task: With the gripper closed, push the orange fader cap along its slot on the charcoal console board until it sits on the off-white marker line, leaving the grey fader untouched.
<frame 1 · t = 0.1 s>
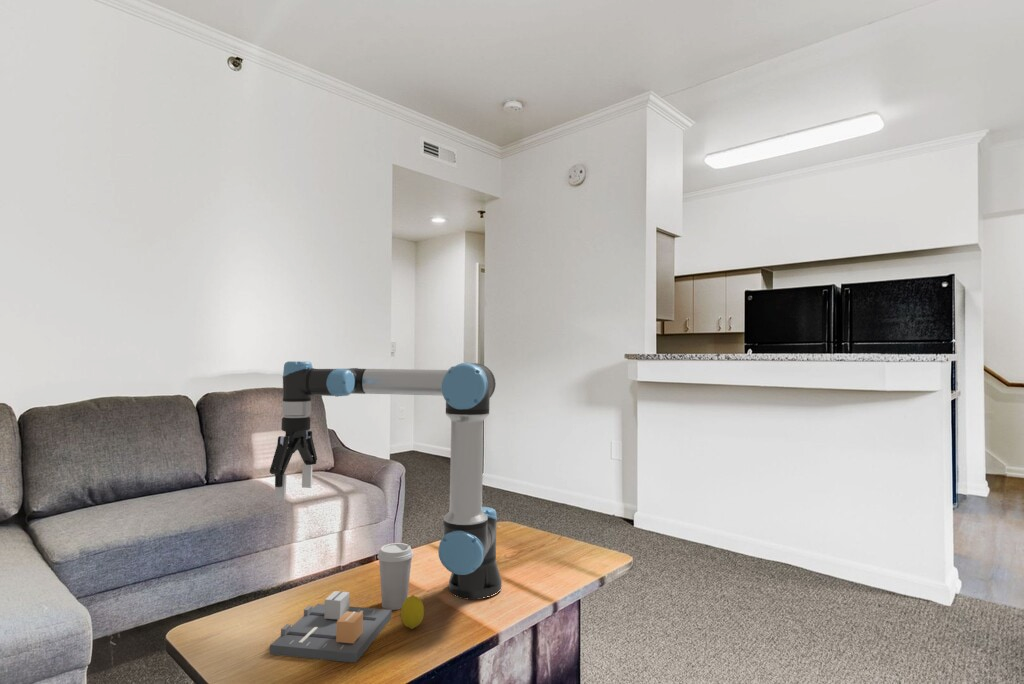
hand: (294, 492, 152), 28 cm above the table, fingers open, 13 cm apart
coffee cup: (394, 605, 146), on the table
lemon: (412, 629, 133), on the table
console: (334, 634, 129), on the table
fader grey: (337, 604, 135), point 5 cm above the table, slide at 0.0 cm
fader orange: (349, 626, 124), point 5 cm above the table, slide at 0.0 cm
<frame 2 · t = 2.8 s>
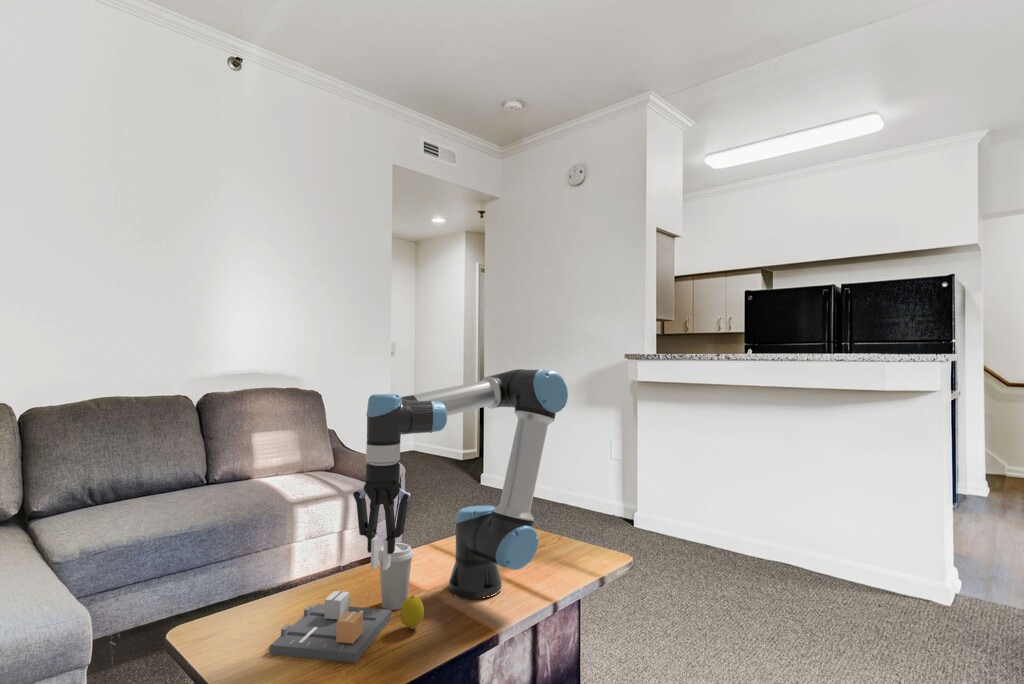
hand: (380, 567, 123), 18 cm above the table, fingers open, 2 cm apart
nothing on the table moved.
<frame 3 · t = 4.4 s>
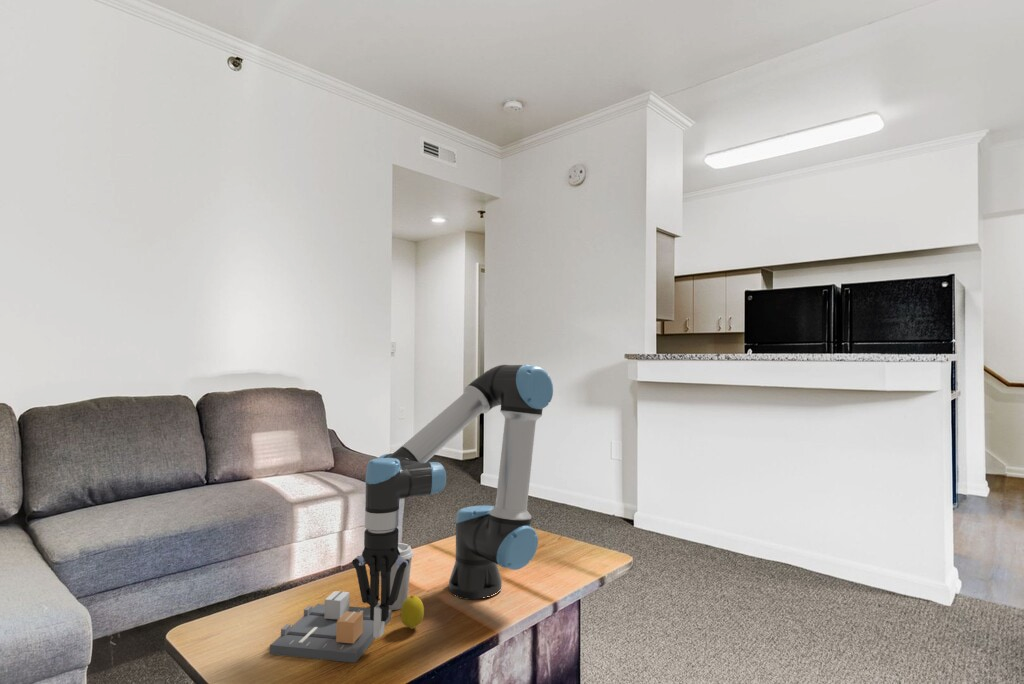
hand: (378, 634, 123), 4 cm above the table, fingers closed
nothing on the table moved.
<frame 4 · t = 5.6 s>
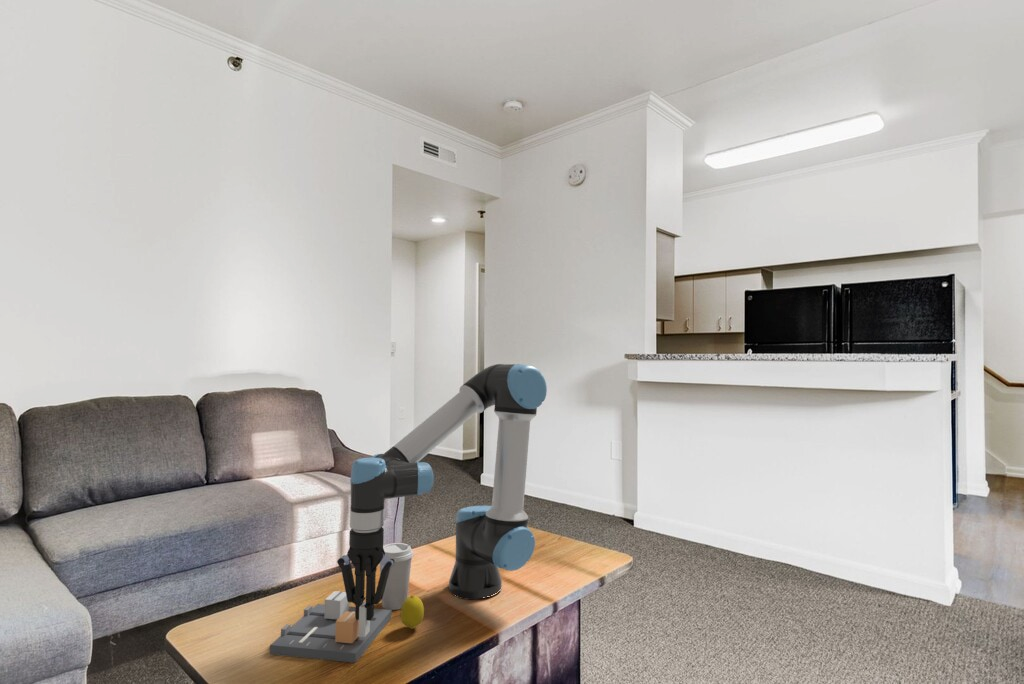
hand: (364, 633, 123), 3 cm above the table, fingers closed
fader orange: (348, 626, 124), point 5 cm above the table, slide at 0.2 cm, touching gripper
everything else where it was.
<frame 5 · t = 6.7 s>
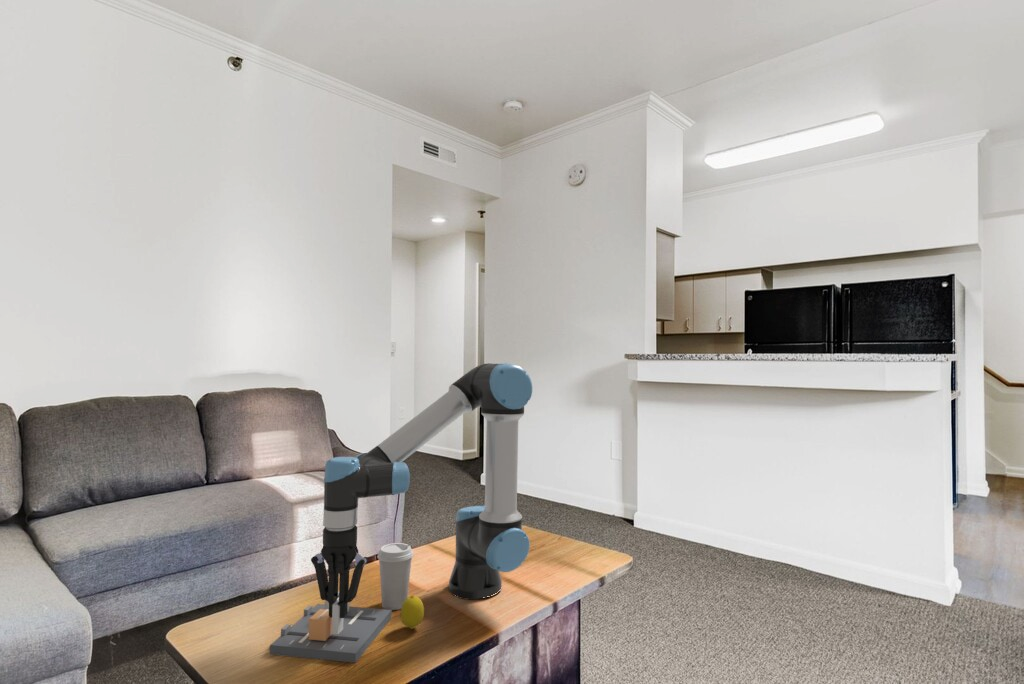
hand: (337, 631, 124), 4 cm above the table, fingers closed
fader orange: (322, 624, 125), point 5 cm above the table, slide at 6.6 cm, touching gripper
everything else where it was.
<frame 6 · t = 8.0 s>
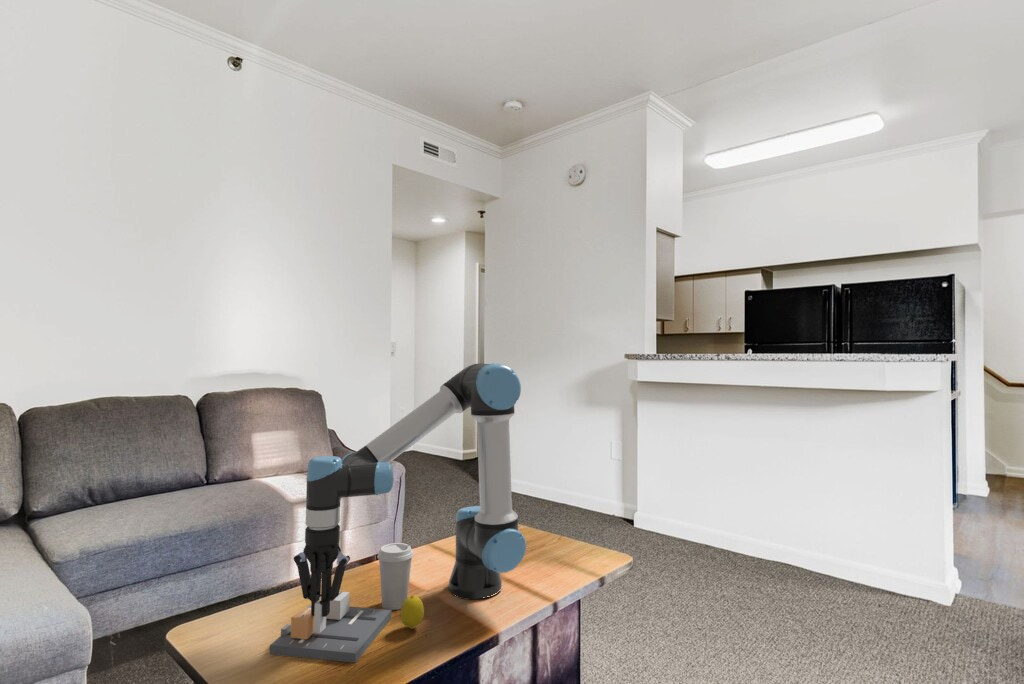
hand: (319, 629, 125), 3 cm above the table, fingers closed
fader orange: (305, 622, 125), point 5 cm above the table, slide at 10.9 cm, touching gripper
everything else where it was.
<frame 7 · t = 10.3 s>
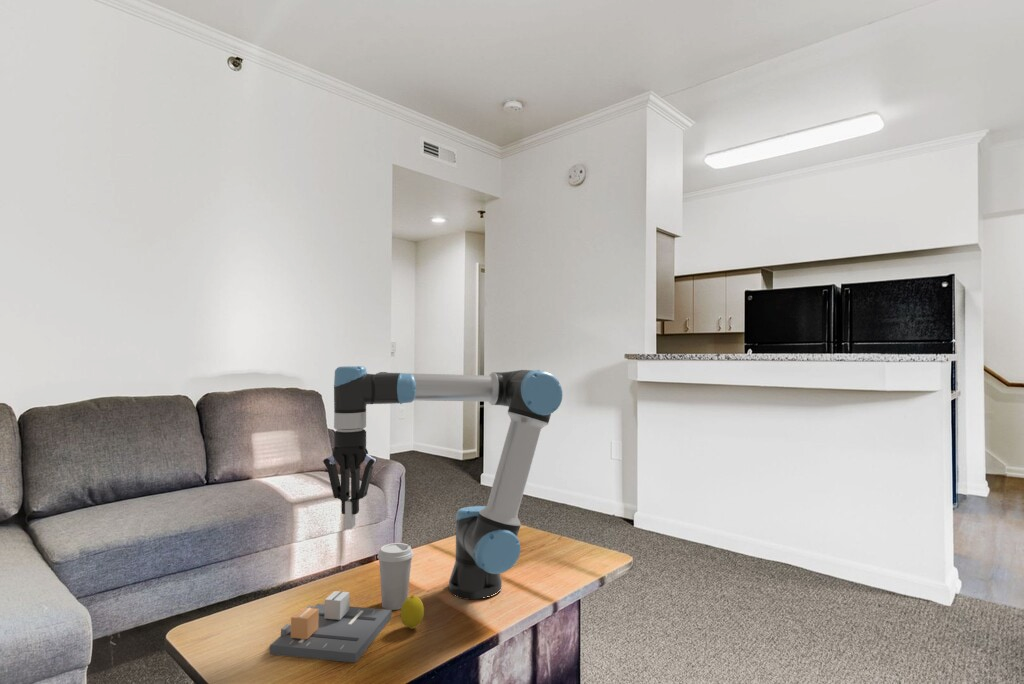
hand: (350, 527, 132), 25 cm above the table, fingers closed
fader orange: (304, 622, 125), point 5 cm above the table, slide at 10.9 cm
everything else where it was.
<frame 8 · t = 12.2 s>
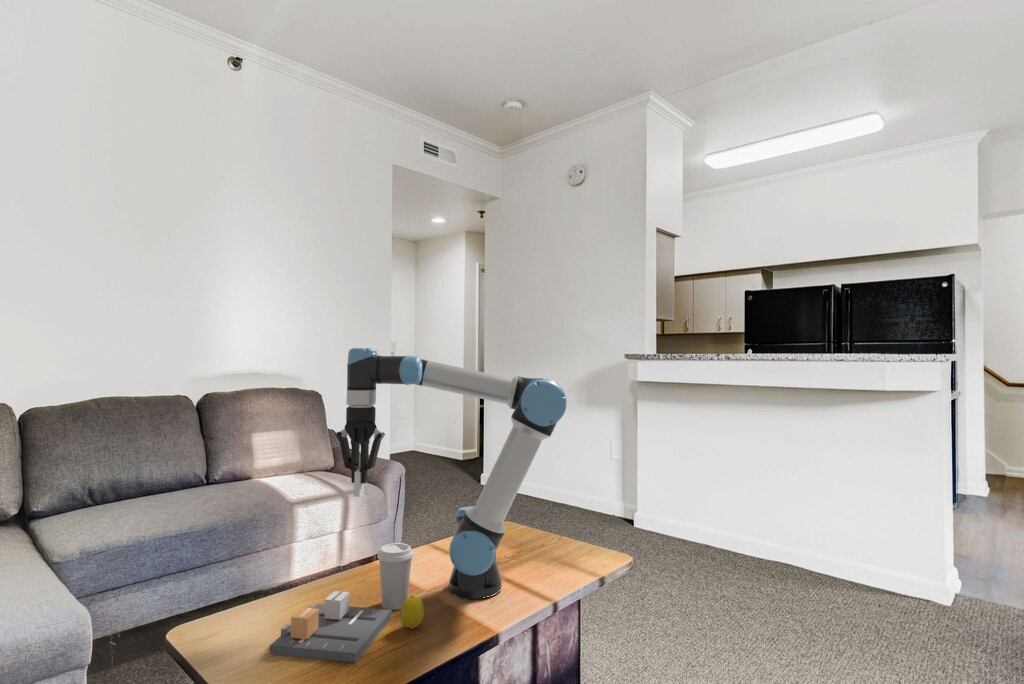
hand: (358, 495, 145), 29 cm above the table, fingers closed
nothing on the table moved.
at the end: fader orange slide at 10.9 cm; fader grey slide at 0.0 cm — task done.
